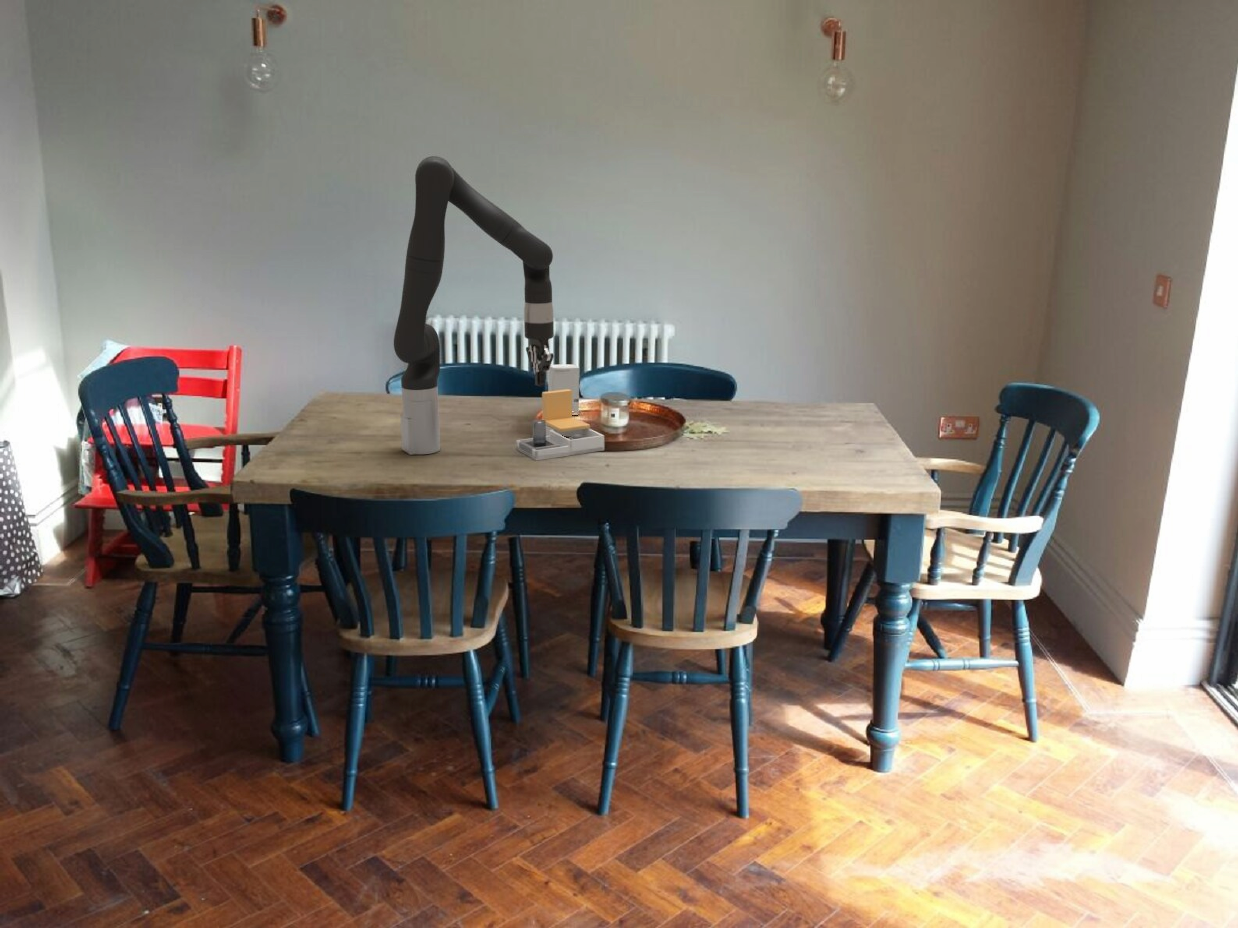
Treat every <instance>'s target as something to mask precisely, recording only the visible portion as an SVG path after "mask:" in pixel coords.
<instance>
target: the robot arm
mask: <svg viewBox="0 0 1238 928" xmlns="http://www.w3.org/2000/svg"><path fill="white" fill-rule="evenodd" d="M414 178H415V179H414V180H415V182H414V183H415V204H414V205H415V208H414V217H413V222H412V226H411V230H410V235H409V238H408V243H407V247H406V255H405V265H404V278H403V285H402V293H401V294H402V295H401V302H400V309H399V314H398V318H397V322H396V326H395V331H394V337H393V349H394V352H395V354H396V356H397V357H398V359H399V360H400V361H402V362H403V363H406V364H407V367H406V369H405V371H404V373H402V375H401V378H400V384H401V386H400V387H401V402H402V403H401V405H402V414H400V433H401V448H402V450H403V451H404V452H405V453H407V454H408V455H430V454H435V453H438V452H439V451H440V450H441V435H440V416H439V415H440V412H439V411H440V410H439V409H440V408H439V393H438V392H439V391H438V389H439V388H438V379H439V376H440V372H441V343H440V338H439V334H438V332H437V330H436V329H435V328H434V327H433V326H432V325H430V324H428V323H426V320H427V315H428V311H429V308H430V305H431V303H432V300H433V298H434V297H435V294H436V292H437V291H438V287H440V286H439V285H440V283H441V280H442V275H443V269H444V263H445V251H446V250H445V247H446V246H445V245H446V239H445V238H446V236H445V234H446V232H445V229H446V228H445V224H446V223H445V221H446V214H447V209H448V203H450V204H452V205H453V206H455V207H456V208H457V209H459V211H461V212H462V213H464V215H466V216H467V217H468V218H469V219H470V220H471V221H473V223H474V224H476V226H477V227H479V228H480V229H481V230H482V231H483V232H484V233H485V234H486V235H488V236H489V237H490V238H492V239H493V240H494V241H496V242H497V243H499V244H500V245H501V246H502V247H503V248H506V249H507V250H509V251H511V252H512V253H513V254H514V255H515V256H516V257H517V258H519V259H520V260H521V261H522V267H523V275H524V276H523V277H524V307H523V309H524V310H523V323H524V324H523V325H524V329H523V331H524V338H526V339H527V340H529V346H526V347H525V350H526V354H527V359H528V361H529V365H530V368H533V372H534V382H535V383H534V384H535V386H538V387H544V386H546V372H547V371H549V368H550V365H552V363H553V359H554V353H552V352H550V345H549V340H550V339H552V338H554V336H555V334H554V333H555V329H554V327H555V325H554V322H555V321H554V306H553V286H552V281H551V276H550V265H551V264H552V262H553V259H554V255H553V250H552V248H551V247H550V245H548V244H547V243H545V242H544V241H543V240H541V239H540V238H539V237H538V236H536V235H535V234H533V233H532V232H530V231H528V230H527V229H526V228H525V227H524V226H523V225H521V223H519V222H518V221H517V220H516V219H515V218H513V217H512V216H511V215H509V214H508V213H506V212H505V211H504V210H503V209H501V208H500V207H499V206H498V205H496V204H495V203H493V202H491V201H490V200H489V199H487V198H486V197H485V196H484V195H482V194H481V193H480V192H478V191H477V190H476V189H475V188H474V187H472V186H471V185H470V184H469V183H468V182H467V181H465V180H464V178H462V176H461V175H460V174H459V172H457V171H456V170H455V169H454V168H453V166H452V165H451V164H450V163H449V161H448V160H446V159H445V158H443V157H442V156H441V157H440V156H436V155H432V156H427V157H425V158H423V159H422V160H421V161H420V162H419V164H418V165H417V167H416V170H415V176H414Z"/></svg>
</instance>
